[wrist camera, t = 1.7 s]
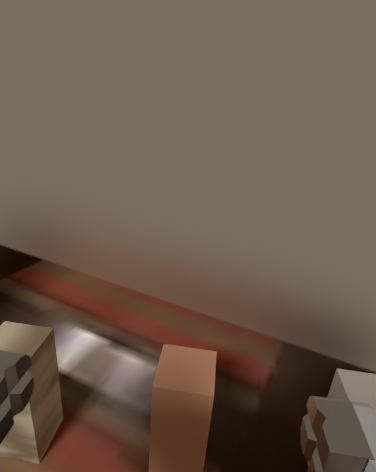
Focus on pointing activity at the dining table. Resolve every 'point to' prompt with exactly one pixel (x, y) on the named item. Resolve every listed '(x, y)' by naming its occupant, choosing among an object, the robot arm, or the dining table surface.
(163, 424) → the terracotta block
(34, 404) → the birch block
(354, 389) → the white block
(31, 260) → the dining table surface
